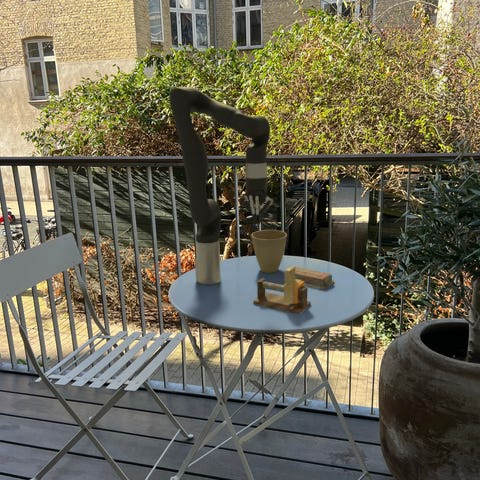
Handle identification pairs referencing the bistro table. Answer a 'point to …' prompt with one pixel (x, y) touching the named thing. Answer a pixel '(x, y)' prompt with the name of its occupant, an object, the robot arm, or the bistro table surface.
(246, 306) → the bistro table surface
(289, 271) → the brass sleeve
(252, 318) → the bistro table surface
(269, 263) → the plant pot
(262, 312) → the bistro table surface
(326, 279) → the packaged product
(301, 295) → the pipe board
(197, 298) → the bistro table surface
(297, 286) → the orange upright board
